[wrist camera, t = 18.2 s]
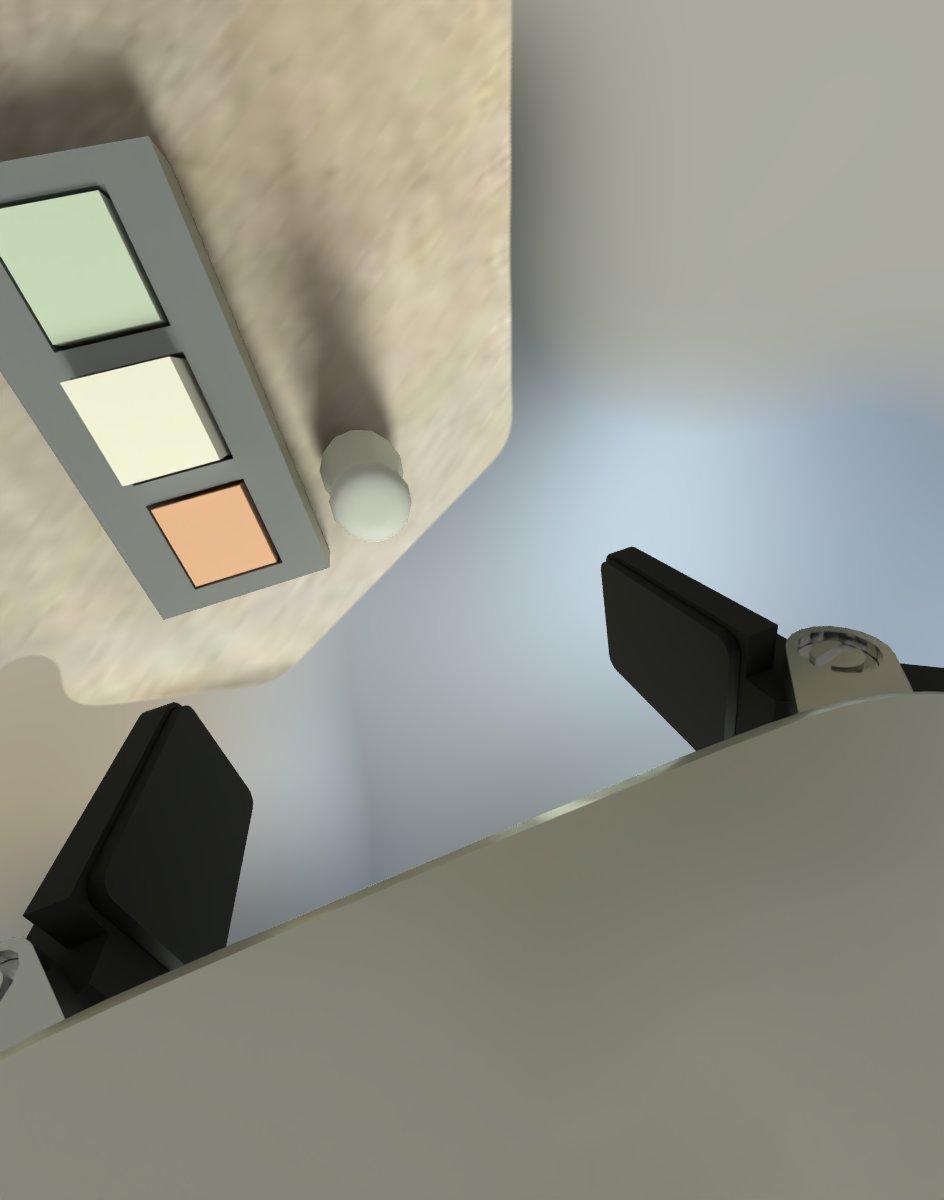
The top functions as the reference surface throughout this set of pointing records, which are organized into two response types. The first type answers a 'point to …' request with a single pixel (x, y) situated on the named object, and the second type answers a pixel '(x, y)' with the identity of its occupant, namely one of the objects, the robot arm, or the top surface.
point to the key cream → (148, 419)
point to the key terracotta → (216, 532)
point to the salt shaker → (365, 485)
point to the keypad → (198, 333)
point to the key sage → (79, 269)
